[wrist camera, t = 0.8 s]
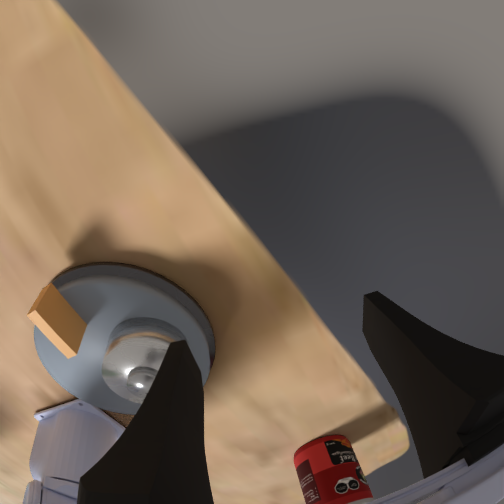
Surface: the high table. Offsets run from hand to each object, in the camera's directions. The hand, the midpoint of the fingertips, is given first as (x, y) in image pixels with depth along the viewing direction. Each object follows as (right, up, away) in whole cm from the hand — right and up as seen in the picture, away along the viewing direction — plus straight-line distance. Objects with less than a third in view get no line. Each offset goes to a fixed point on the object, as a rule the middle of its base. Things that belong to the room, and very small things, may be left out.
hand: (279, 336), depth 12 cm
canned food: (+8, -23, +25) cm, 35 cm away
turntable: (-11, -4, +11) cm, 16 cm away
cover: (-8, -4, +9) cm, 13 cm away
